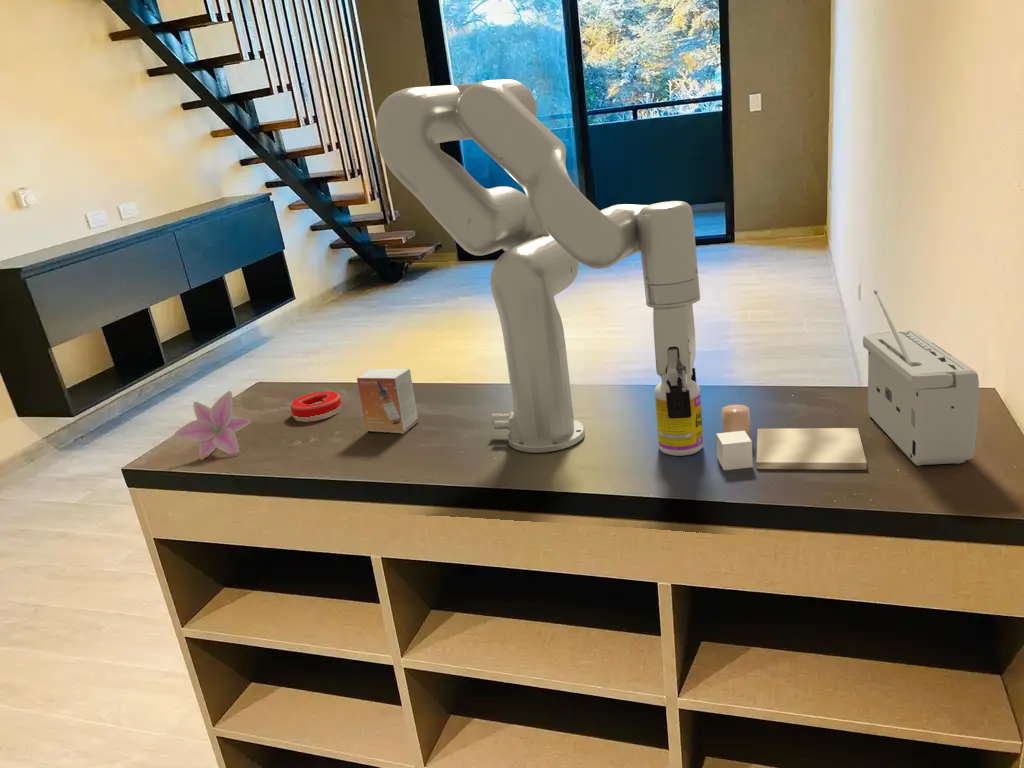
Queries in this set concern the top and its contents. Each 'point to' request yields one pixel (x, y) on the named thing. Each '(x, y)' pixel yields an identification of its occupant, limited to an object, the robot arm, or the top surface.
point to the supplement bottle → (679, 422)
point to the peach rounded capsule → (736, 419)
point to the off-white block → (734, 450)
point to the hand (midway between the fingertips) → (683, 405)
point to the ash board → (810, 449)
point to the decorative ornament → (304, 408)
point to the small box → (387, 399)
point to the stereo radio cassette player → (922, 396)
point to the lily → (214, 426)
